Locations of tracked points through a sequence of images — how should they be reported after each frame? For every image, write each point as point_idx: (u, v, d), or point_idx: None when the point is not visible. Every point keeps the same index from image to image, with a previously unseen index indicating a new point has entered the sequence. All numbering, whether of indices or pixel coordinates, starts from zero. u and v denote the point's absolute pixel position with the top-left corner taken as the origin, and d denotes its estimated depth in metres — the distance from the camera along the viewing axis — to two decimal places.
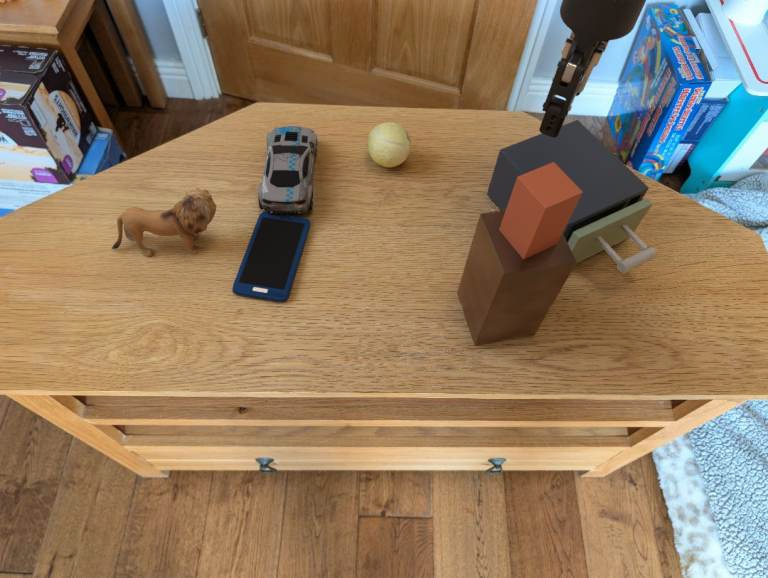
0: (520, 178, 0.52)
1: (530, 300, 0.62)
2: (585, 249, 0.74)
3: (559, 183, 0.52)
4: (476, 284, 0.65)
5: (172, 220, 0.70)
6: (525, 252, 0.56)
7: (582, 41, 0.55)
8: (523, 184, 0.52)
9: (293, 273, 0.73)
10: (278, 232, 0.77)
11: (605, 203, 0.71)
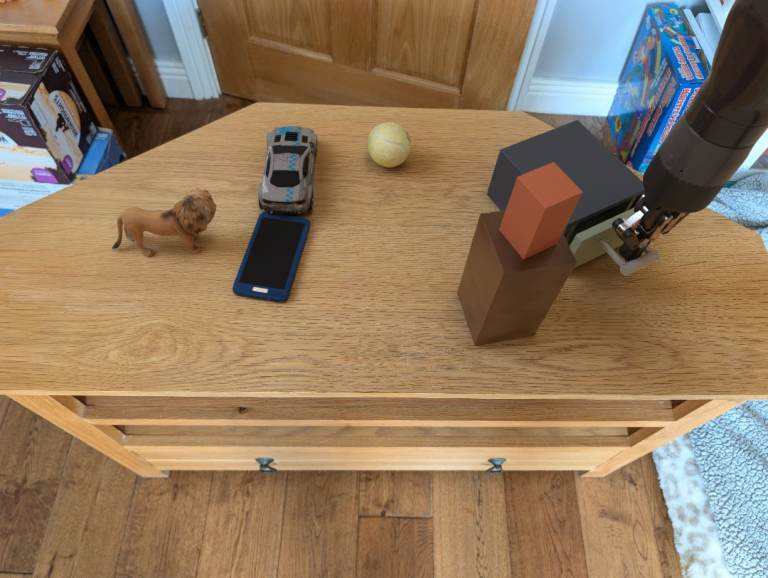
0: (520, 178, 0.52)
1: (530, 300, 0.62)
2: (588, 252, 0.73)
3: (559, 183, 0.52)
4: (476, 284, 0.65)
5: (172, 220, 0.70)
6: (525, 252, 0.56)
7: (648, 201, 0.61)
8: (523, 184, 0.52)
9: (293, 273, 0.73)
10: (278, 232, 0.77)
11: (605, 203, 0.71)
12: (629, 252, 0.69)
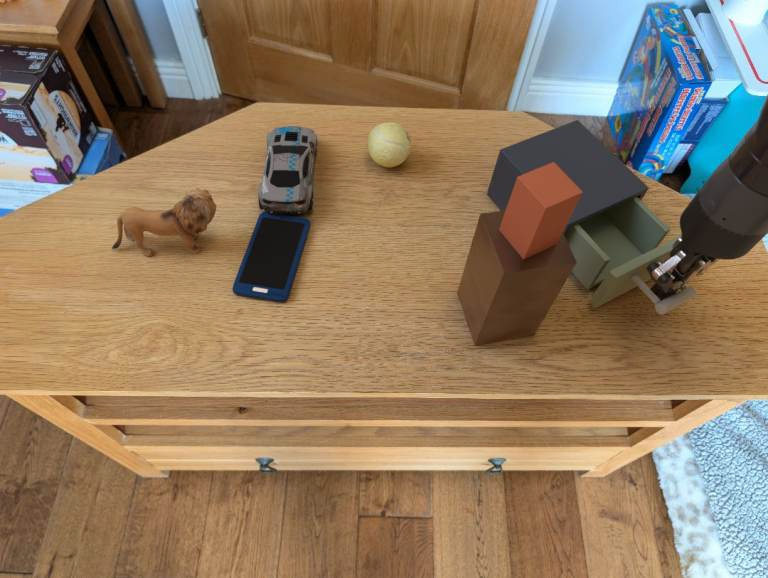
0: (520, 178, 0.52)
1: (530, 300, 0.62)
2: (620, 287, 0.70)
3: (559, 183, 0.52)
4: (476, 284, 0.65)
5: (172, 220, 0.70)
6: (525, 252, 0.56)
7: (686, 246, 0.58)
8: (523, 184, 0.52)
9: (293, 273, 0.73)
10: (278, 232, 0.77)
11: (605, 203, 0.71)
12: (662, 293, 0.67)
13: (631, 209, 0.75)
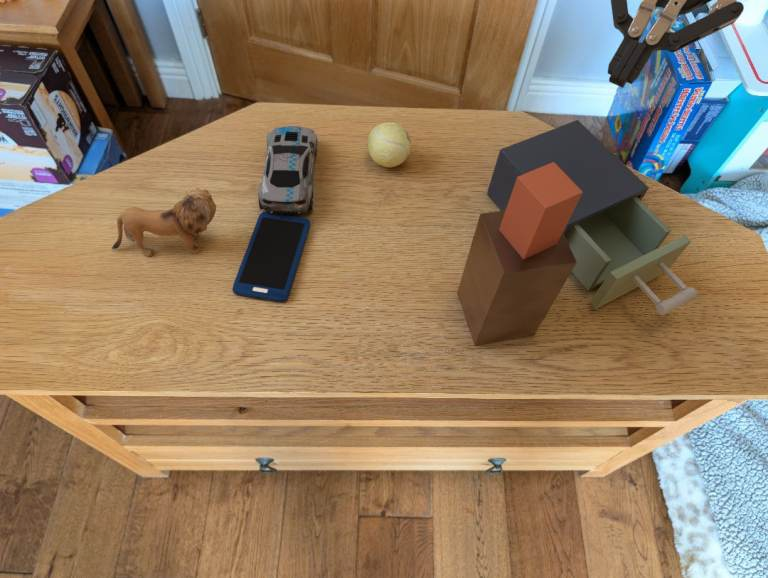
0: (520, 178, 0.52)
1: (530, 300, 0.62)
2: (621, 288, 0.70)
3: (559, 183, 0.52)
4: (476, 284, 0.65)
5: (172, 220, 0.70)
6: (525, 252, 0.56)
7: None
8: (523, 184, 0.52)
9: (293, 273, 0.73)
10: (278, 232, 0.77)
11: (605, 203, 0.71)
12: (616, 51, 0.52)
13: (632, 210, 0.75)
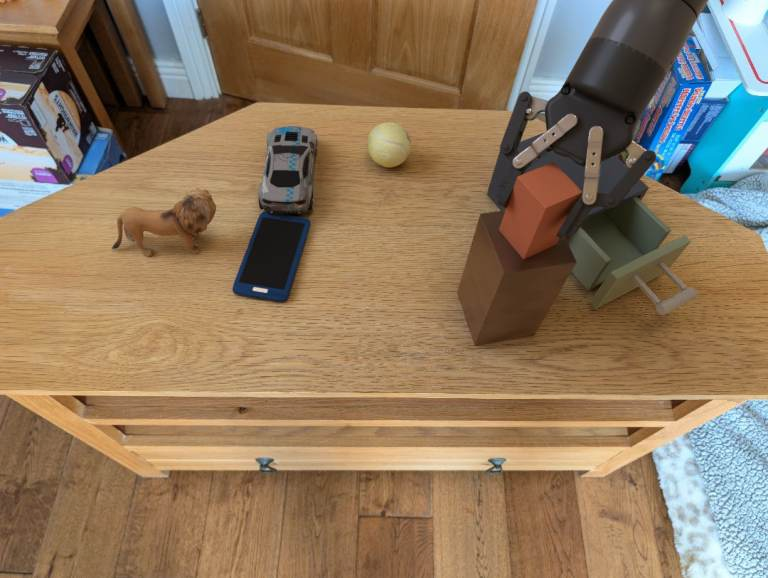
0: (520, 178, 0.52)
1: (530, 300, 0.62)
2: (621, 288, 0.70)
3: (559, 183, 0.52)
4: (476, 284, 0.65)
5: (172, 220, 0.70)
6: (525, 252, 0.56)
7: None
8: (523, 184, 0.52)
9: (293, 273, 0.73)
10: (278, 232, 0.77)
11: None
12: (503, 179, 0.54)
13: (632, 210, 0.75)
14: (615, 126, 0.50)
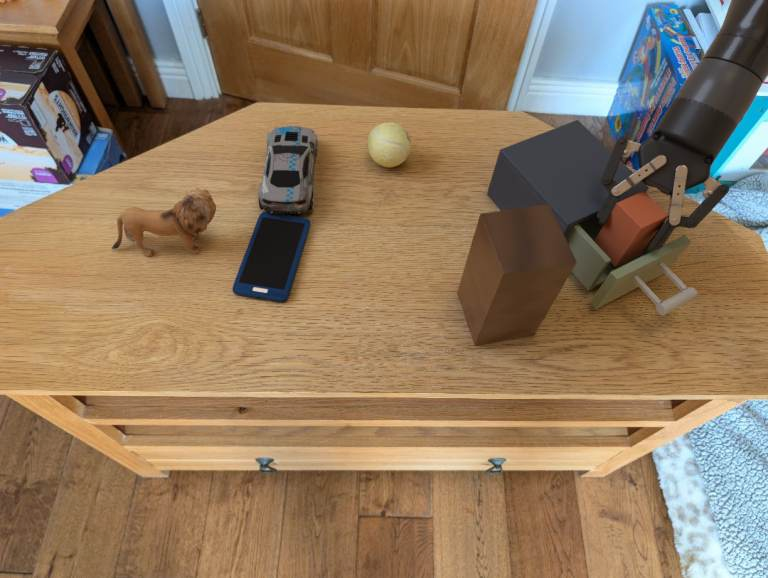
0: (619, 204, 0.67)
1: (530, 300, 0.62)
2: (621, 288, 0.70)
3: (650, 208, 0.67)
4: (476, 284, 0.65)
5: (172, 220, 0.70)
6: (618, 262, 0.71)
7: None
8: (622, 209, 0.67)
9: (293, 273, 0.73)
10: (278, 232, 0.77)
11: None
12: (603, 204, 0.69)
13: None
14: (696, 165, 0.64)
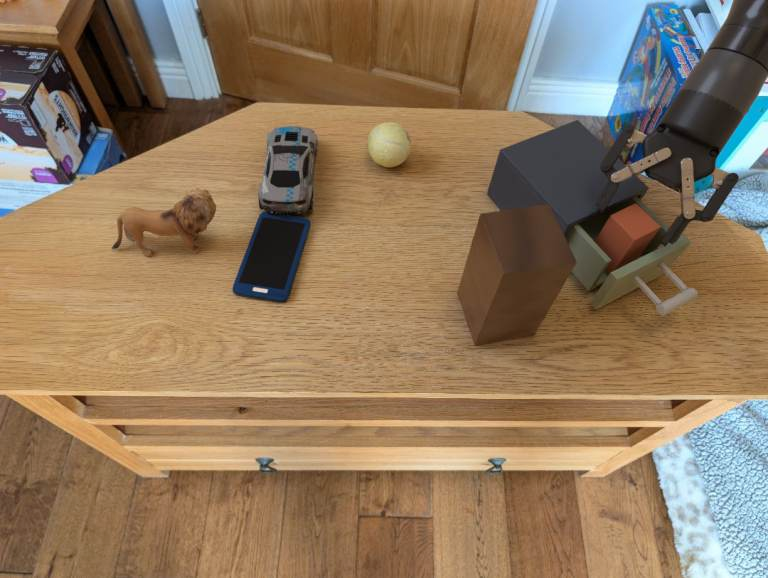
0: (612, 217, 0.69)
1: (530, 300, 0.62)
2: (621, 288, 0.70)
3: (642, 220, 0.69)
4: (476, 284, 0.65)
5: (172, 220, 0.70)
6: None
7: None
8: (615, 221, 0.69)
9: (293, 273, 0.73)
10: (278, 232, 0.77)
11: None
12: (602, 191, 0.68)
13: None
14: (701, 158, 0.63)
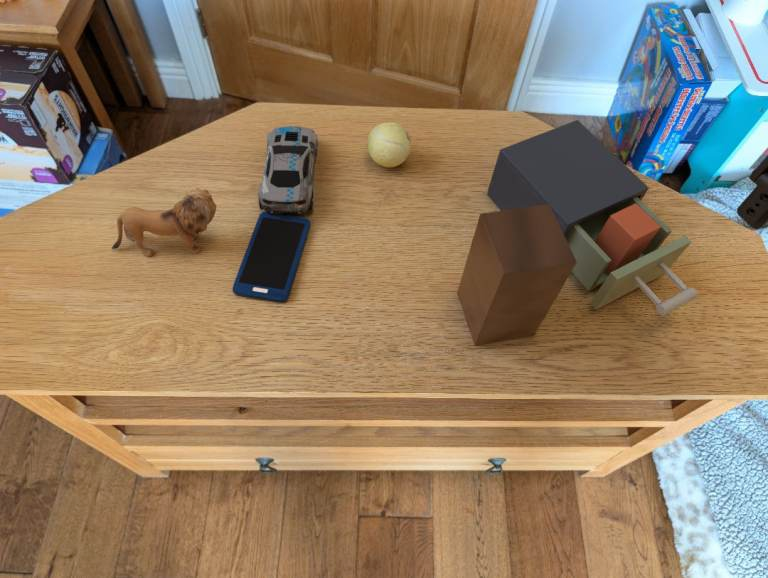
0: (612, 217, 0.69)
1: (530, 300, 0.62)
2: (621, 288, 0.70)
3: (642, 220, 0.69)
4: (476, 284, 0.65)
5: (172, 220, 0.70)
6: None
7: None
8: (615, 221, 0.69)
9: (293, 273, 0.73)
10: (278, 232, 0.77)
11: (605, 203, 0.71)
12: (763, 209, 0.40)
13: None
14: None
